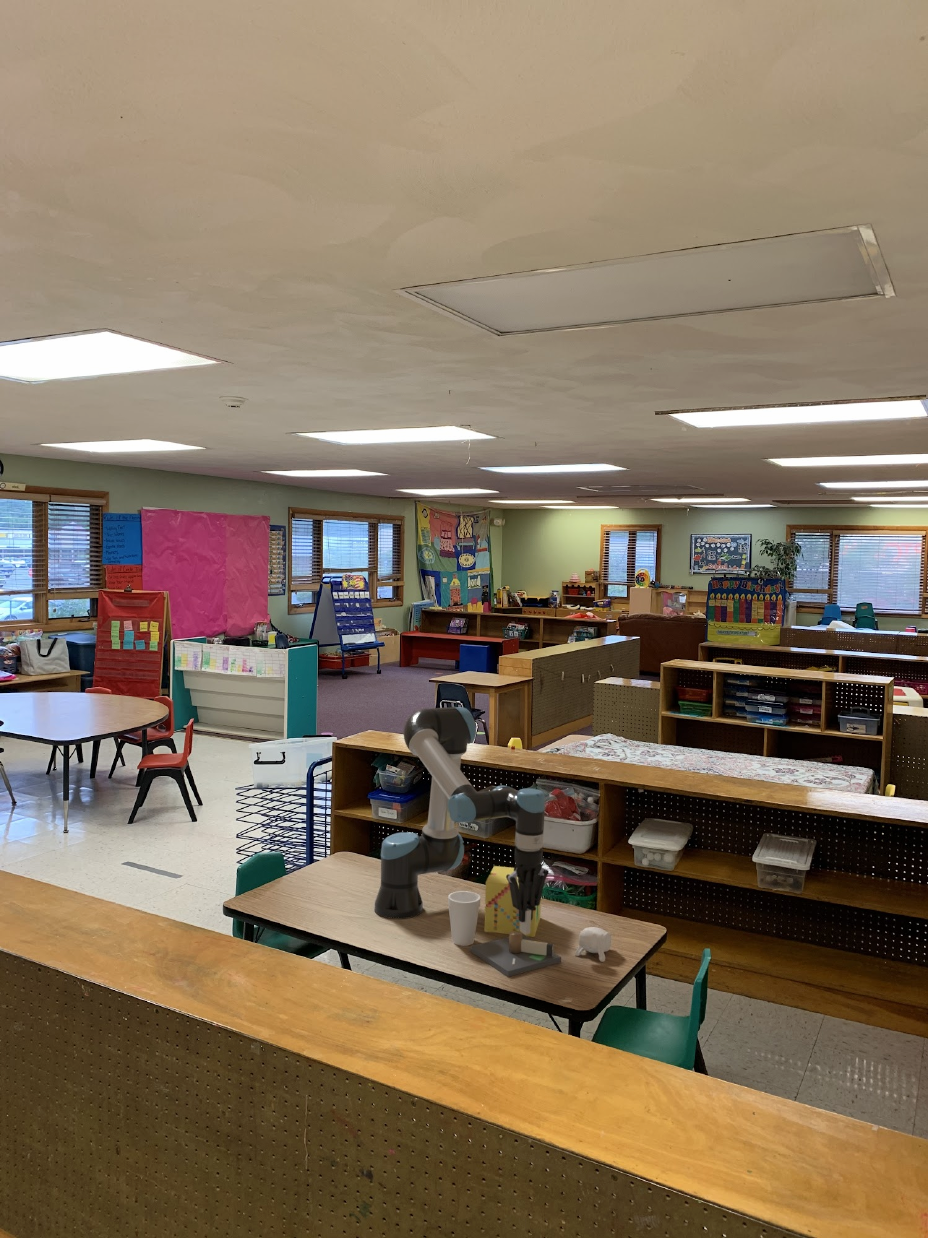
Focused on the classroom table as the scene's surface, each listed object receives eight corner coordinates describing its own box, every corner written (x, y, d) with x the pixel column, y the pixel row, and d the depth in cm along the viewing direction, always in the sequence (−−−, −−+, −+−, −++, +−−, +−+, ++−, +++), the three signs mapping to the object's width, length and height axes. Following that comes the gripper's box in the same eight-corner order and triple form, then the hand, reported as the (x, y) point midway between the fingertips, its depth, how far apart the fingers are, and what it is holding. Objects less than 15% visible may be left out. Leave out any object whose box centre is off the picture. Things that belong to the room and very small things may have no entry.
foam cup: (459, 950, 242) (460, 905, 241) (440, 939, 249) (441, 895, 249) (485, 943, 248) (487, 898, 247) (466, 932, 255) (468, 889, 254)
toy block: (534, 937, 253) (536, 886, 252) (484, 931, 256) (485, 882, 255) (540, 918, 268) (541, 870, 267) (492, 913, 271) (494, 866, 270)
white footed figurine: (583, 956, 248) (567, 955, 235) (587, 925, 250) (572, 922, 238) (612, 962, 244) (597, 962, 231) (616, 931, 246) (602, 929, 234)
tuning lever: (507, 952, 238) (508, 935, 237) (510, 947, 241) (511, 930, 241) (551, 959, 234) (551, 941, 234) (553, 953, 237) (554, 936, 237)
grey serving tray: (470, 951, 242) (470, 945, 241) (522, 938, 251) (522, 933, 251) (507, 977, 226) (508, 970, 226) (561, 962, 236) (561, 956, 236)
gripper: (517, 855, 225) (513, 942, 227) (556, 848, 232) (552, 933, 234) (501, 846, 232) (497, 931, 233) (539, 839, 239) (535, 922, 240)
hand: (524, 932), depth 233 cm, fingers closed
